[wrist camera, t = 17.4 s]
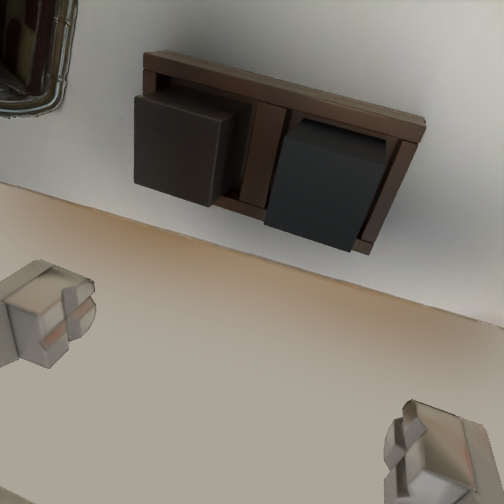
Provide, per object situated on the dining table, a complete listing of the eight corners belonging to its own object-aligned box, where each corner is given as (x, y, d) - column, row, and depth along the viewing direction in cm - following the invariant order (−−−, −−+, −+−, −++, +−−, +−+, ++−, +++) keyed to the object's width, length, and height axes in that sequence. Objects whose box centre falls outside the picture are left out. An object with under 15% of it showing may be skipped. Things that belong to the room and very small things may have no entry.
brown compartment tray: (159, 169, 25) (109, 198, 20) (165, 49, 21) (103, 53, 16) (372, 236, 22) (368, 286, 18) (424, 117, 18) (437, 143, 14)
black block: (303, 117, 19) (284, 136, 15) (386, 139, 18) (386, 165, 15) (284, 192, 22) (263, 224, 18) (356, 214, 21) (350, 253, 17)
